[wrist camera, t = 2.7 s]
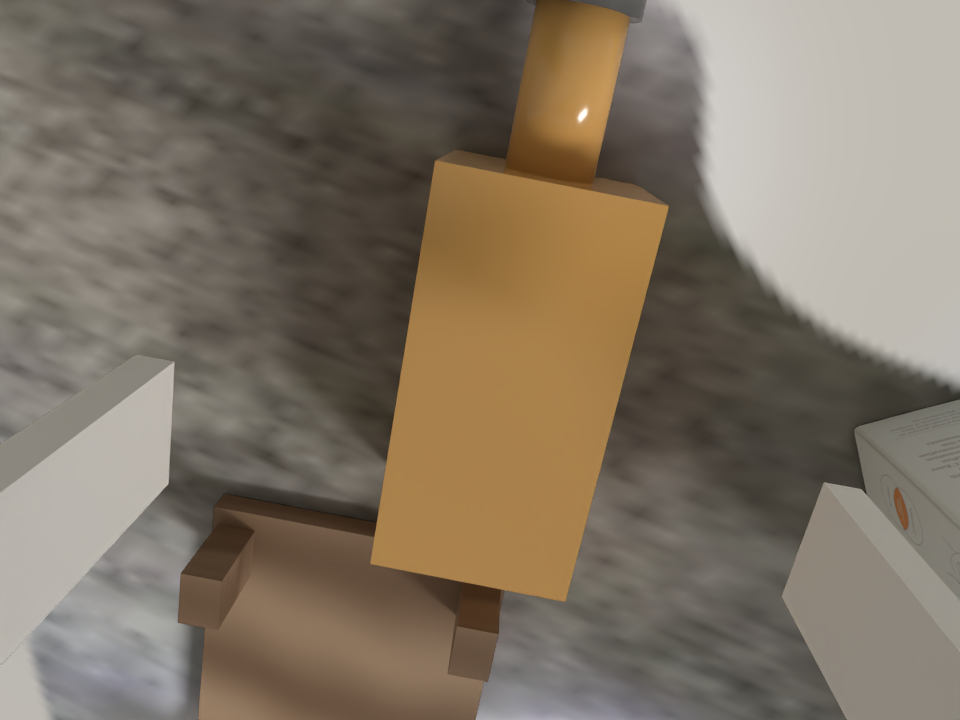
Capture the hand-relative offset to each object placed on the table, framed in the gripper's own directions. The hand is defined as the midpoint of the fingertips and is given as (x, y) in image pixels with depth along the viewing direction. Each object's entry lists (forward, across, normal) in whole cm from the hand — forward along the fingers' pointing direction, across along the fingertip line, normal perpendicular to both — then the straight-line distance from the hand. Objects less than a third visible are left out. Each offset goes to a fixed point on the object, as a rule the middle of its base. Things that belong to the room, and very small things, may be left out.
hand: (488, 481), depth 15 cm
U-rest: (+12, +4, +16) cm, 20 cm away
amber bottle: (+12, 0, -2) cm, 12 cm away
